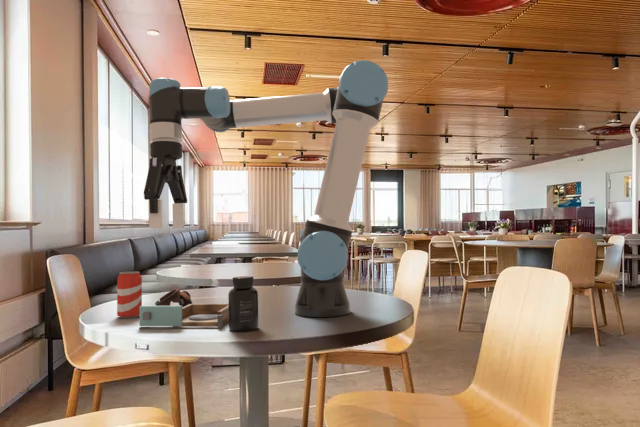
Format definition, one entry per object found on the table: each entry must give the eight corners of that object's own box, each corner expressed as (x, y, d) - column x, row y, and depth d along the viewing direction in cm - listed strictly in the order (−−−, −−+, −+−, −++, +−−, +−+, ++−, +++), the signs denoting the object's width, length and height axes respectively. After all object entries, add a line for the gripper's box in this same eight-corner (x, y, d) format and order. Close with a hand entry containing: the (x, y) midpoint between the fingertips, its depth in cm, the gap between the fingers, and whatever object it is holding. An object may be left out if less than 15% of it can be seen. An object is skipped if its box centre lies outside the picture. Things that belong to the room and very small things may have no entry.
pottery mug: (191, 320, 120) (174, 294, 119) (162, 335, 121) (145, 309, 120) (205, 301, 132) (190, 277, 130) (178, 315, 133) (163, 292, 132)
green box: (182, 325, 108) (182, 305, 108) (179, 326, 106) (179, 306, 106) (141, 325, 108) (141, 305, 108) (137, 327, 106) (137, 307, 107)
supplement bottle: (262, 326, 108) (262, 275, 108) (252, 332, 101) (252, 278, 102) (235, 325, 109) (235, 275, 110) (223, 331, 103) (223, 278, 103)
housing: (236, 317, 121) (236, 303, 121) (221, 328, 106) (221, 313, 106) (164, 317, 122) (164, 304, 122) (139, 328, 107) (139, 313, 107)
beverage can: (111, 318, 121) (112, 273, 122) (127, 314, 127) (127, 271, 128) (131, 319, 120) (132, 273, 120) (146, 314, 126) (146, 271, 126)
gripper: (171, 152, 126) (173, 228, 125) (126, 132, 101) (128, 228, 100) (198, 150, 125) (199, 227, 125) (159, 130, 101) (161, 227, 100)
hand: (167, 228), depth 112 cm, fingers open, 13 cm apart
